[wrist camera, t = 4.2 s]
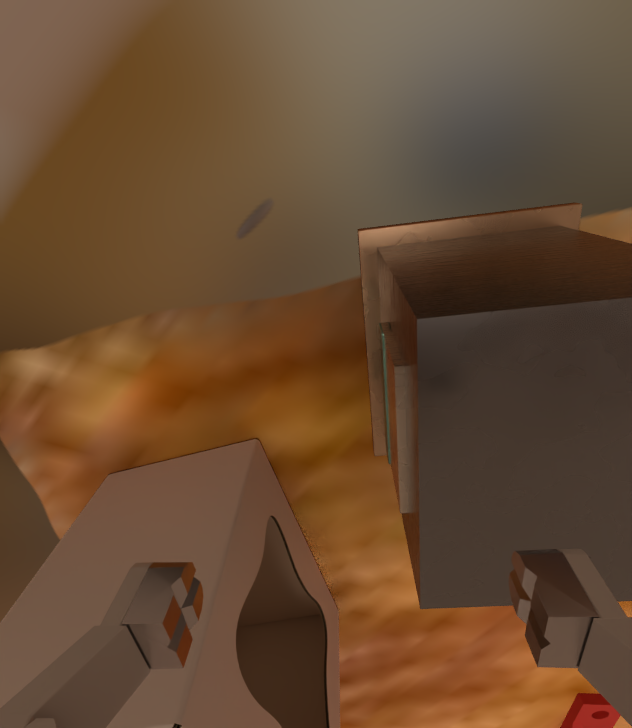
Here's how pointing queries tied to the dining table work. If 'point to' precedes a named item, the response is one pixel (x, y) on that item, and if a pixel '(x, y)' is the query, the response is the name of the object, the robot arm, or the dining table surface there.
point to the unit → (502, 394)
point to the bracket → (590, 712)
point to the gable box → (220, 596)
